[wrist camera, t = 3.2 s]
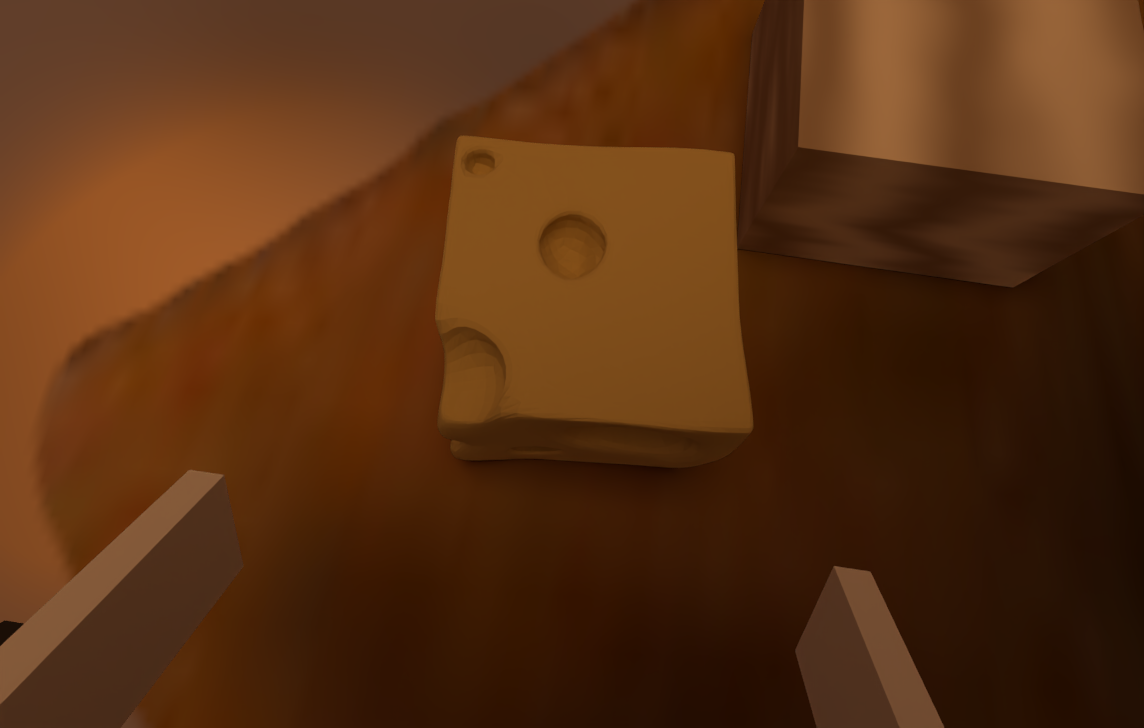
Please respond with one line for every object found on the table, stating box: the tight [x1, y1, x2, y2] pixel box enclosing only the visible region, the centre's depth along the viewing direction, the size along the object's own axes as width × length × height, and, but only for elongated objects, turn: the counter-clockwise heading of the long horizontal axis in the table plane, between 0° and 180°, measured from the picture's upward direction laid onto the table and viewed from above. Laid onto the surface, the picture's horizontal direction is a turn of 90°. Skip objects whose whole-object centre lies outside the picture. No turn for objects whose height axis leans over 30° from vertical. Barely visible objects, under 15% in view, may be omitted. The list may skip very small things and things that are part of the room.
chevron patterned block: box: [737, 0, 1144, 288], centre depth 28 cm, size 14×14×8 cm
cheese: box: [435, 136, 753, 468], centre depth 23 cm, size 10×11×10 cm
